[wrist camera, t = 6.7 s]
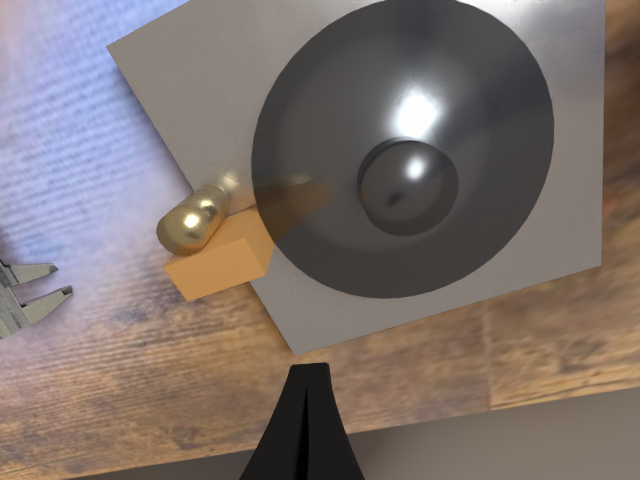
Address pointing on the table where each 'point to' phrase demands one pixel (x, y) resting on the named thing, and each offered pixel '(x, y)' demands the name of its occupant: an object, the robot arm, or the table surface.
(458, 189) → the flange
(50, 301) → the caliper
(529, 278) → the base plate
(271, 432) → the robot arm
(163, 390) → the table surface
